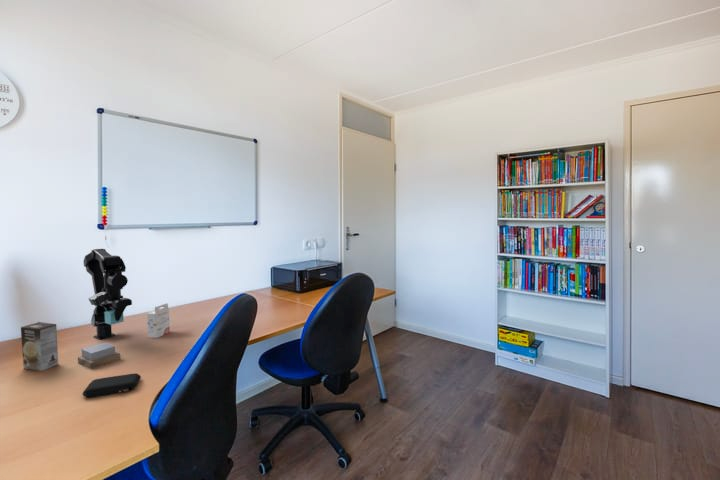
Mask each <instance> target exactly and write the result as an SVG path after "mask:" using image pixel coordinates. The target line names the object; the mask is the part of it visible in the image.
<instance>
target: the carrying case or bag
mask: <svg viewBox="0 0 720 480" xmlns="http://www.w3.org/2000/svg"><path fill="white" fill-rule="evenodd" d="M141 376H142V375H140V374H139V373H127V374H121V375H115V376H107V377H100V378H96V379H93V380H92V381H91V382H90V383H89V384H88V385H87V387H86V388H85V389H84V390H83V392H82V396H83V397H85V398H86V399H87V398H88V399H90V398H97V397H103V396H108V395H115V394H122V393H126V392H131V391H133V390H135V389H136V387H138V385H139V382H140V380H141V378H142V377H141Z"/></svg>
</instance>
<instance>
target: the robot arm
mask: <svg viewBox="0 0 720 480" xmlns="http://www.w3.org/2000/svg"><path fill="white" fill-rule="evenodd" d="M90 251H91V252H89V253H88V254H86V255H84V258H83V266H84V268H85V271H86V272H87V273H88V274H89V275H90V276H91V280H92V286H93V292H94V294H93V295H92V296H90V297H88V301H89V302H90V304H91V306H94V308H93V311H92V312H93V313H92V315H91V319H90V323H91V326H92V327H94V328H96V335H93V338H94V339H98V340H103V339H107V338H110V337H114V336H116V334H115V333H113V330H112V325H110V324H107V323H105V313H104V312H106V311H110V310H114V315H115V319H116V321H119V320H120V318H121V316H122V314H123V315H124V312H125V310H126V308H127V307H128V306H131V305H133V301H132V300H133V299H130V298H128V297H124V295H122V291H121V290H123V289H124V287H126V285H127V284H128V281H129V280H128V278H127V276H126V275H123V273H125V272H126V269H127V267H126V264H125V262H124V260H123V258H122V257H121V256H119V255H112V254H110V253H109V252H108V251H107V250H106V249H105V248H95V249H91V250H90Z"/></svg>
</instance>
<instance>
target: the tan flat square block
mask: <svg viewBox="0 0 720 480" xmlns="http://www.w3.org/2000/svg"><path fill="white" fill-rule="evenodd" d="M119 360H121V353H120V352H118V351H115V354H112V355H109V356H106V357H103V358H100V359H97V360H93V361H90V360H88V359H86V358H84V357H82V355H80V356H77V364H78V365H80V366H82V367H85V368H87V369H90V370H93V369H97V368H98V367H102V366H105V365H107V364H110V363H114V362H116V361H119Z"/></svg>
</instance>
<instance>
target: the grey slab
mask: <svg viewBox="0 0 720 480" xmlns="http://www.w3.org/2000/svg"><path fill="white" fill-rule="evenodd" d="M115 352H116V345H113V344H110V343H108V342H101V343H98V344H95V345H92V346H87V347H84V348H81V356H82V357H84V358H86V359H88V360H90V361H93V360H97V359H100V358H103V357H106V356H109V355H112V354H115Z"/></svg>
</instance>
